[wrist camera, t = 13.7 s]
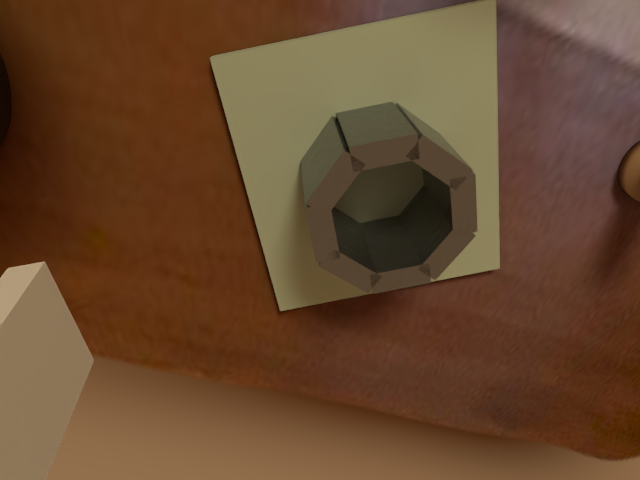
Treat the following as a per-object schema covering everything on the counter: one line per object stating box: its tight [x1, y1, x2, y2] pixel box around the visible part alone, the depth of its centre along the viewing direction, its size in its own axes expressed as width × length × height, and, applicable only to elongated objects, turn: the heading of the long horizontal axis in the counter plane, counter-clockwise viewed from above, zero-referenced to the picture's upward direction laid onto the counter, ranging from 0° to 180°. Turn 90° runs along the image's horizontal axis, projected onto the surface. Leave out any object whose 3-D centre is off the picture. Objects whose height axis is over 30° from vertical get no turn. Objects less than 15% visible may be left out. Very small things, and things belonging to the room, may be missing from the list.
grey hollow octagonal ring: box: [300, 102, 478, 294], centre depth 34 cm, size 10×10×7 cm
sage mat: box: [210, 0, 500, 311], centre depth 37 cm, size 18×20×1 cm
